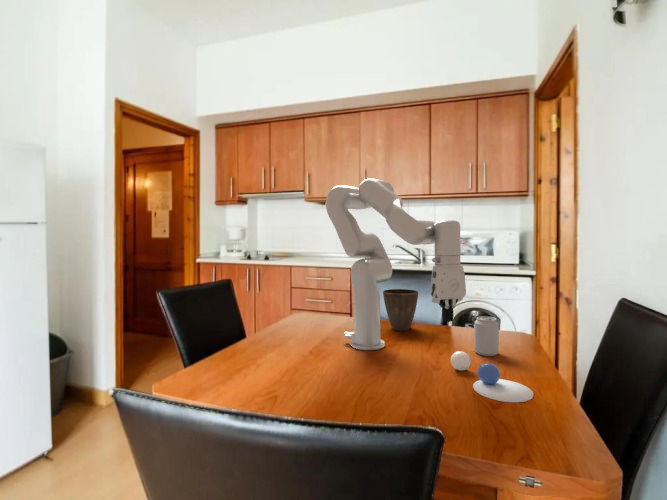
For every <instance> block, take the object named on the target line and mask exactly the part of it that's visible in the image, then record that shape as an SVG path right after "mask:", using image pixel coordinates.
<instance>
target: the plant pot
mask: <svg viewBox="0 0 667 500" xmlns="http://www.w3.org/2000/svg"><path fill="white" fill-rule="evenodd" d="M382 294H383V295H382V296H383V301H384V307H385V311H386V315H387V318H388V321H389V324H390V326H391V329H393V330H395V331H409V330H410V329H411V327H412V325H413V324H412V323H413V320H414V317H415V313H416V309H417V304H418V297H419V291H418V290H415V289H406V288H405V289H404V288H392V289H391V288H390V289H384V290H382Z"/></svg>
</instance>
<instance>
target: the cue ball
mask: <svg viewBox="0 0 667 500" xmlns="http://www.w3.org/2000/svg"><path fill="white" fill-rule="evenodd" d="M450 364H451V366H452V367H453V368H454V369H455V370H457V371H460V372H461V371H465V370H468V369H469V368H470V365H471V358H470V356H469V354H468V353H466V352H465V351H462V350H461V351H460V350H457V351H455V352H454V353H452V355H451V356H450Z"/></svg>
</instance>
